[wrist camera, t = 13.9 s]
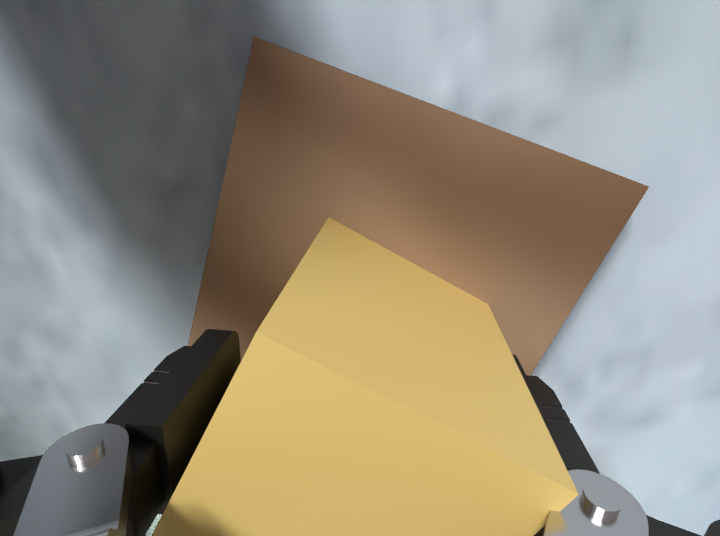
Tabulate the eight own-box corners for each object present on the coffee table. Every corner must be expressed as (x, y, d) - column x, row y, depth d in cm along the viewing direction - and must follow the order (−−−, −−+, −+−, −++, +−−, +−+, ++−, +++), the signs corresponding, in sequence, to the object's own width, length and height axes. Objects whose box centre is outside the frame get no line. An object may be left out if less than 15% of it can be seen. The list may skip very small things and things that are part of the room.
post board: (269, 44, 10) (136, -22, 5) (623, 178, 11) (835, 244, 6) (180, 433, 16) (68, 598, 10) (422, 514, 16) (433, 713, 11)
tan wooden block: (256, 354, 12) (143, 551, 7) (328, 216, 11) (255, 332, 5) (396, 424, 13) (397, 659, 7) (487, 304, 11) (578, 494, 6)
